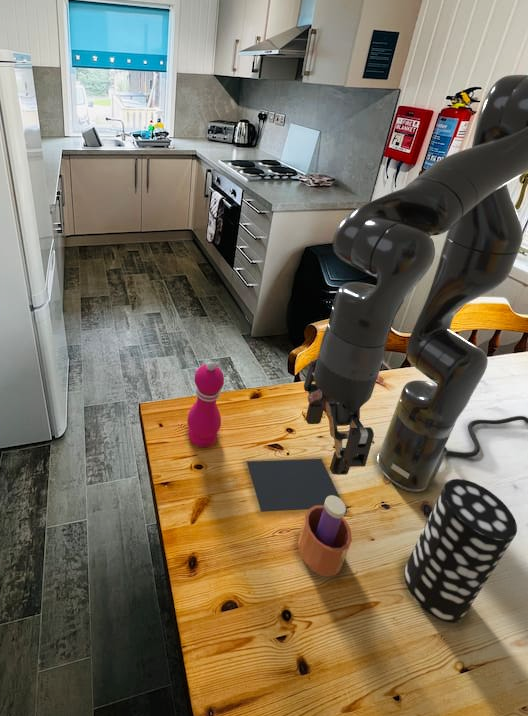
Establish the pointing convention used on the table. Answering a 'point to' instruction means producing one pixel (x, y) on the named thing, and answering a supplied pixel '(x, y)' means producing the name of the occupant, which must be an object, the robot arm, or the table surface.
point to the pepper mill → (206, 406)
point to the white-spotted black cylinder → (458, 549)
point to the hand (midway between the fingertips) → (324, 445)
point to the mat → (291, 484)
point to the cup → (319, 554)
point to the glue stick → (330, 520)
